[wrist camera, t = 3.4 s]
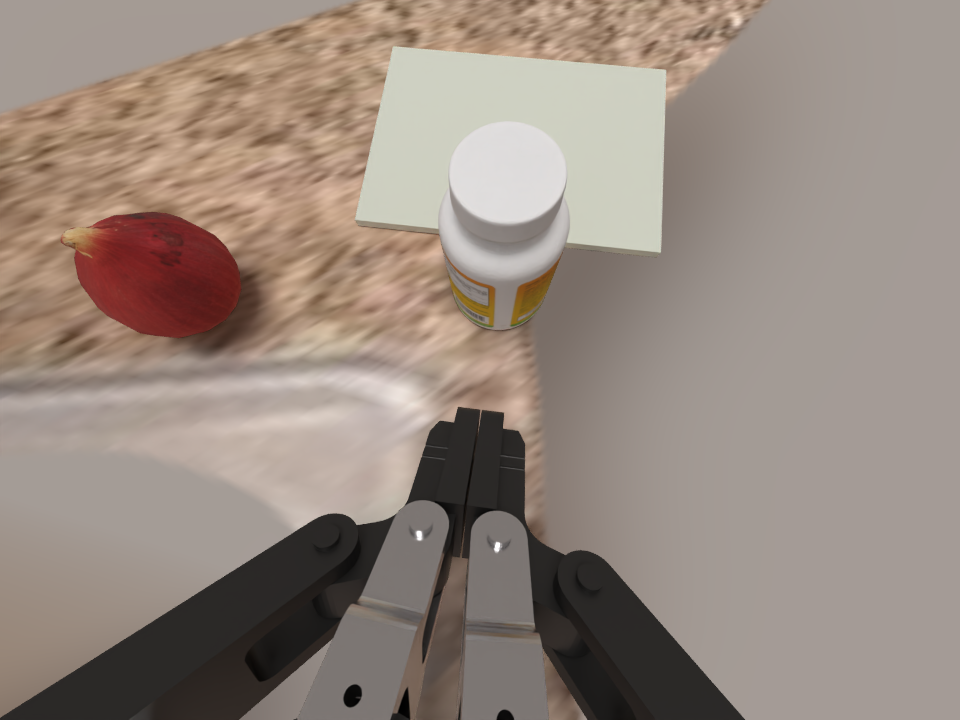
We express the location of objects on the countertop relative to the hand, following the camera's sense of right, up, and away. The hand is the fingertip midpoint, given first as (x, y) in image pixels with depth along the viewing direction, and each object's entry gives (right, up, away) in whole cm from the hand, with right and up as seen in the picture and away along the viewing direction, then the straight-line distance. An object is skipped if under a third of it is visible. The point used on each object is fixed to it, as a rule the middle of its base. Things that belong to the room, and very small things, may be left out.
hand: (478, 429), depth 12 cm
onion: (-15, +5, +10) cm, 19 cm away
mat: (+2, +16, +11) cm, 20 cm away
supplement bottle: (+1, +6, +10) cm, 12 cm away
